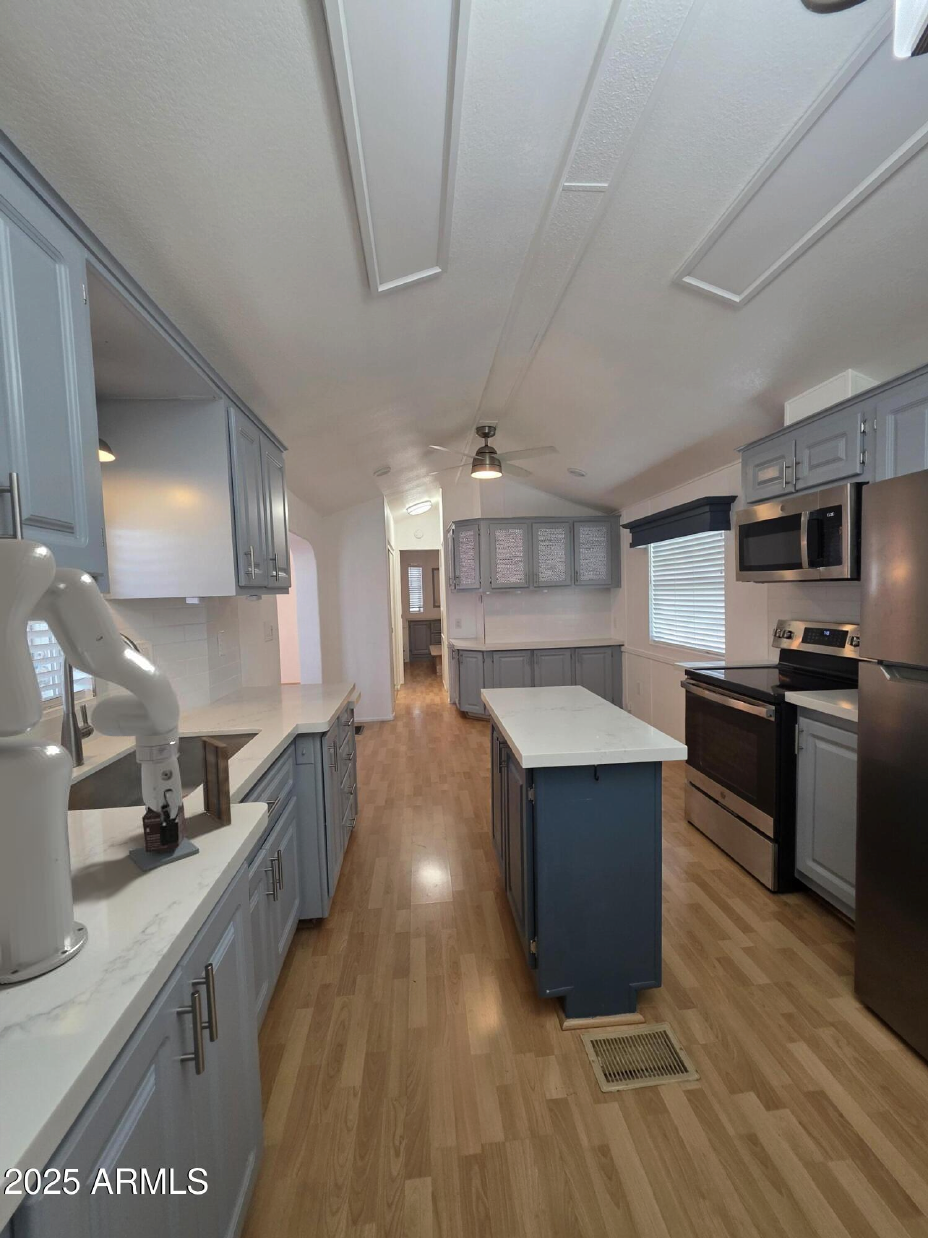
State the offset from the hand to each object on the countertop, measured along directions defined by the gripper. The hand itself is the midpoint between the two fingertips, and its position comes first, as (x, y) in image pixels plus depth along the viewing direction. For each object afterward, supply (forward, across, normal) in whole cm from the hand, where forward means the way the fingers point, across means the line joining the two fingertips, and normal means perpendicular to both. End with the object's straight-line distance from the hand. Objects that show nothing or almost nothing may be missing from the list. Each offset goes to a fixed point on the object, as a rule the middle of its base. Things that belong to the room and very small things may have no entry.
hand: (162, 836), depth 109 cm
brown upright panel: (+4, +10, -9) cm, 14 cm away
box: (+2, 0, -1) cm, 2 cm away
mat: (+4, 0, 0) cm, 4 cm away
